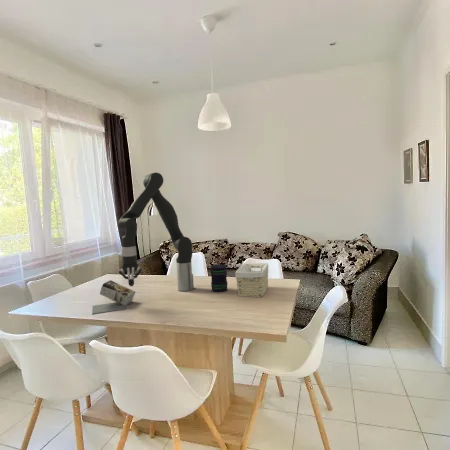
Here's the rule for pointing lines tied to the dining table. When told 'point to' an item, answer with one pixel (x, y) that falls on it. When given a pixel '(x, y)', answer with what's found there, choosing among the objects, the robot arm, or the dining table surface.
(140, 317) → the dining table surface
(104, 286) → the coffee box
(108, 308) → the mat
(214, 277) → the storage jar
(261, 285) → the storage basket
